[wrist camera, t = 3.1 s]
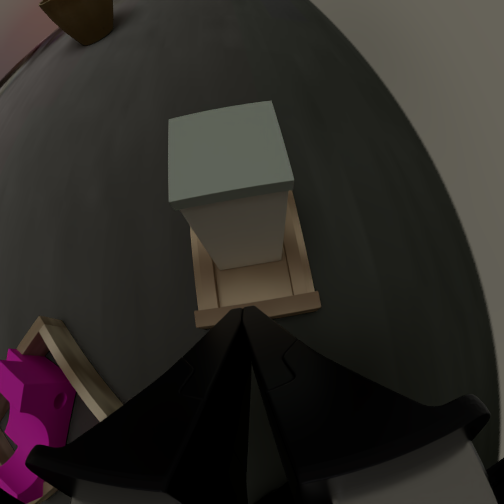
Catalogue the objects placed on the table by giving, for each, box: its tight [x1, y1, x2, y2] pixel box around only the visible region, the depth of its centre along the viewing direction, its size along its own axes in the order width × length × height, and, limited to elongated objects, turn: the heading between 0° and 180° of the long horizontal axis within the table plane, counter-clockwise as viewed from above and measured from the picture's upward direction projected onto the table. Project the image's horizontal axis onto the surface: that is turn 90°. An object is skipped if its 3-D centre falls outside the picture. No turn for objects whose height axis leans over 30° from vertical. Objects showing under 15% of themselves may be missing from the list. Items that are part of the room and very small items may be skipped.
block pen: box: [0, 316, 123, 504], centre depth 18 cm, size 12×21×4 cm, turn 137°
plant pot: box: [39, 0, 113, 45], centre depth 34 cm, size 15×15×16 cm
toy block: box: [0, 349, 76, 504], centre depth 16 cm, size 15×6×8 cm, turn 162°
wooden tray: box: [190, 190, 321, 329], centre depth 25 cm, size 20×9×3 cm, turn 9°
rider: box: [168, 101, 294, 270], centre depth 18 cm, size 5×5×12 cm
